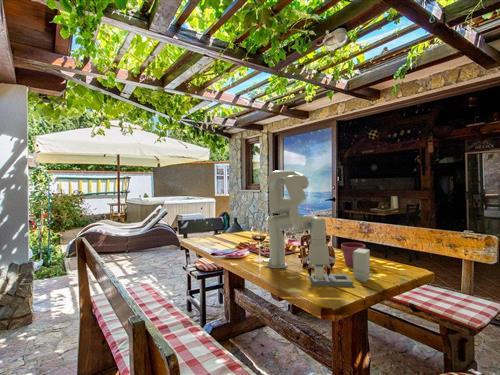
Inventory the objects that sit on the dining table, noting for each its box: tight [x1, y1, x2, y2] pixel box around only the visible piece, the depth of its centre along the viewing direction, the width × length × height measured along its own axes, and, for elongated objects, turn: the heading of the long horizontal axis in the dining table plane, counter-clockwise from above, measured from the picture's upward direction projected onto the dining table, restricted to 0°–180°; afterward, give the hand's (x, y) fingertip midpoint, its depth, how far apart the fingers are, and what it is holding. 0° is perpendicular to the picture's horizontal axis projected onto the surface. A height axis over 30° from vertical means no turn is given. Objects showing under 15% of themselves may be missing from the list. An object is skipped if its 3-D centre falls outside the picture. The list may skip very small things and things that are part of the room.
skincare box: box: [352, 248, 371, 283], centre depth 158 cm, size 8×7×16 cm
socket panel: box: [308, 273, 354, 287], centre depth 153 cm, size 20×12×3 cm, turn 85°
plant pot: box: [340, 242, 366, 268], centre depth 184 cm, size 14×14×13 cm
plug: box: [314, 265, 325, 279], centre depth 153 cm, size 4×4×9 cm
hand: (319, 275), depth 153 cm, fingers open, 8 cm apart
